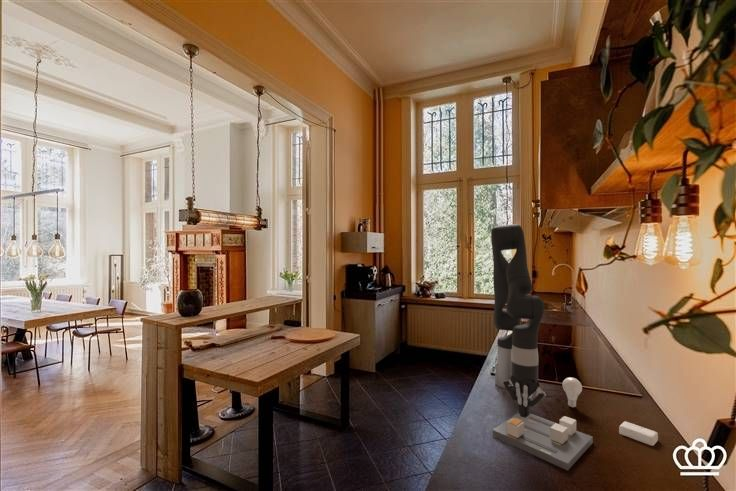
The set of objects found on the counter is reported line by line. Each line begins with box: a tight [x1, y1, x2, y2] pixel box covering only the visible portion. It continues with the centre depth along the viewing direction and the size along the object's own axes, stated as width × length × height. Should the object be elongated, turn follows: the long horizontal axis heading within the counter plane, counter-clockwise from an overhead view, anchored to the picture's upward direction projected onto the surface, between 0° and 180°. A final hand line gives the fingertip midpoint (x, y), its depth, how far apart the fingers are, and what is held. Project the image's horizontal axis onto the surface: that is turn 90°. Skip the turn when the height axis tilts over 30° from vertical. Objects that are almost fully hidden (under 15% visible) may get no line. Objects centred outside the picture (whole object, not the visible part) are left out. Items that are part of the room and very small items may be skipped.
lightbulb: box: [562, 376, 583, 408], centre depth 130 cm, size 6×6×11 cm
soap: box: [618, 420, 659, 447], centre depth 110 cm, size 9×6×3 cm, turn 38°
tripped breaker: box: [507, 418, 524, 438], centre depth 107 cm, size 4×4×4 cm
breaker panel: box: [492, 412, 594, 471], centre depth 108 cm, size 22×20×6 cm
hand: (524, 416), depth 106 cm, fingers closed
